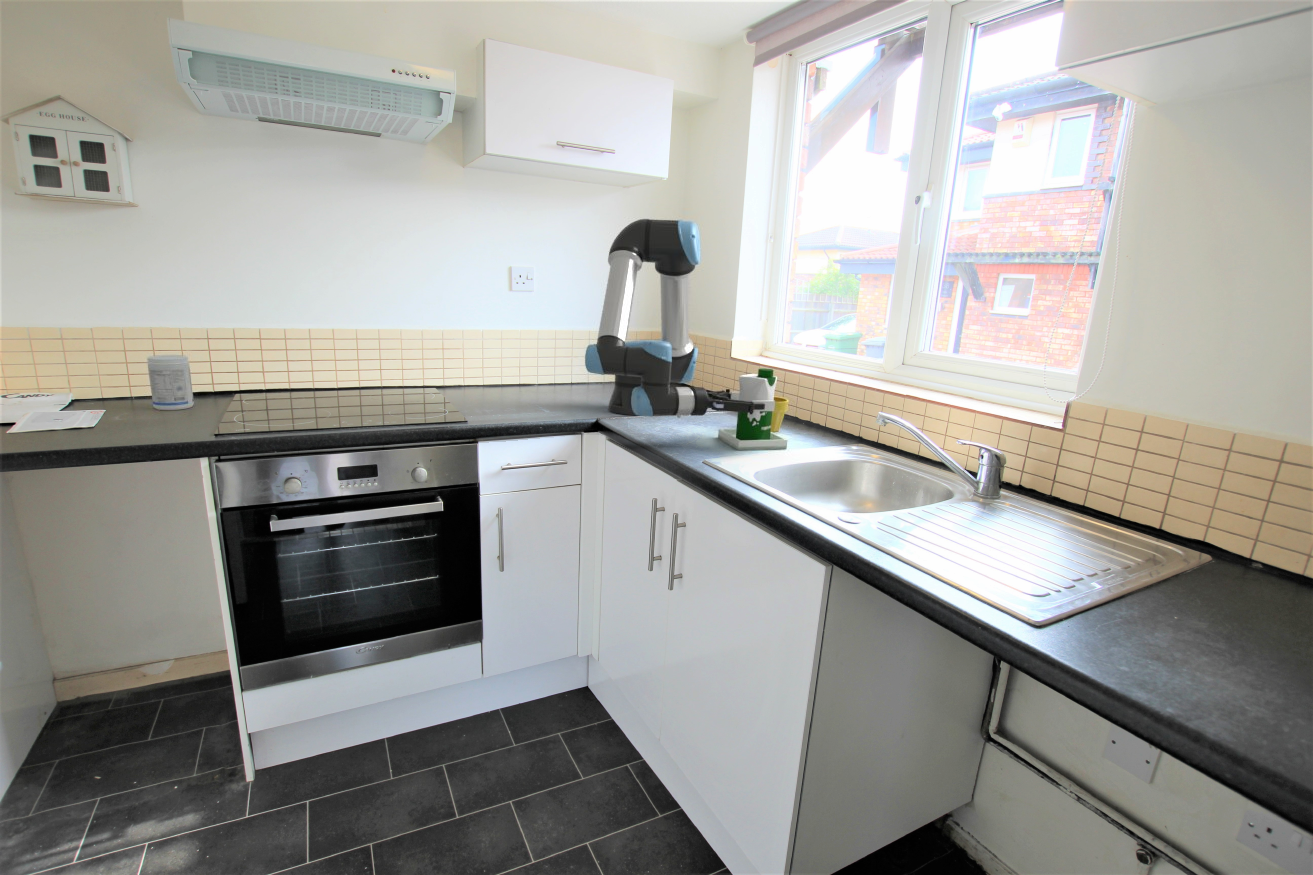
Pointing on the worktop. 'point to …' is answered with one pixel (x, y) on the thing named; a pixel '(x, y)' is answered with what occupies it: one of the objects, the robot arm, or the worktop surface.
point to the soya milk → (756, 390)
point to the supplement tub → (170, 382)
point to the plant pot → (778, 413)
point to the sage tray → (752, 441)
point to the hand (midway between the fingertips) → (762, 401)
